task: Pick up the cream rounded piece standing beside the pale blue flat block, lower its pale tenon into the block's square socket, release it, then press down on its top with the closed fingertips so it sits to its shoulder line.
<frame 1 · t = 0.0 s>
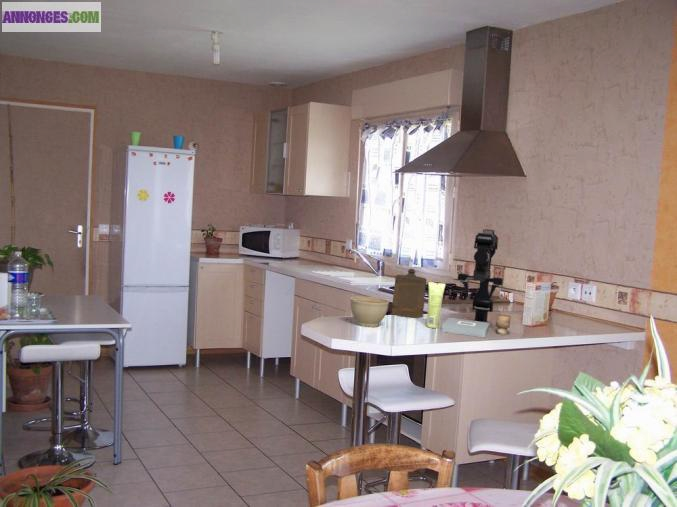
hand: (478, 299, 302), 15 cm above the countertop, fingers open, 9 cm apart
tube: (432, 327, 307), on the countertop
cracker box: (534, 325, 341), on the countertop
cream rounded piece: (501, 333, 307), on the countertop
pale blue flat block: (466, 330, 307), on the countertop
planter bowl: (367, 325, 298), on the countertop
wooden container: (407, 315, 336), on the countertop
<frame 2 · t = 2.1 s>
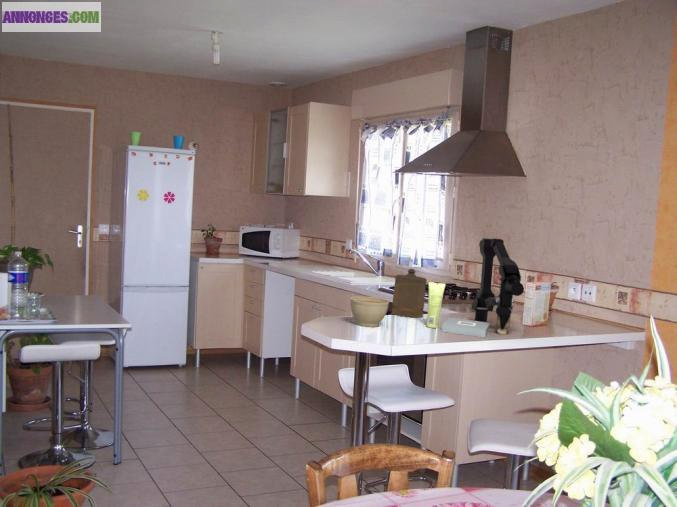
hand: (502, 328, 307), 3 cm above the countertop, fingers closed on cream rounded piece, 6 cm apart
cream rounded piece: (501, 333, 307), on the countertop, touching gripper
everything else where it was.
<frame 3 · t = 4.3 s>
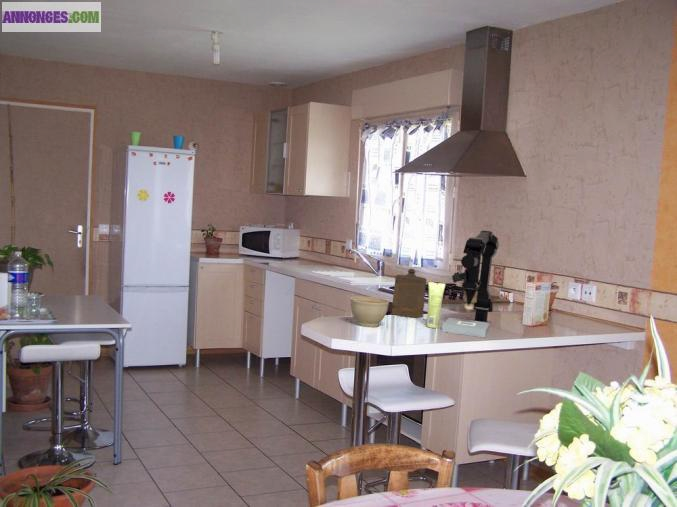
hand: (469, 303, 307), 12 cm above the countertop, fingers closed on cream rounded piece, 6 cm apart
cream rounded piece: (468, 309, 307), point 9 cm above the countertop, touching gripper
everything else where it was.
when the fingers open (4 cm above the countertop, at t = 6.5 s): cream rounded piece drops 1 cm, resting in pale blue flat block.
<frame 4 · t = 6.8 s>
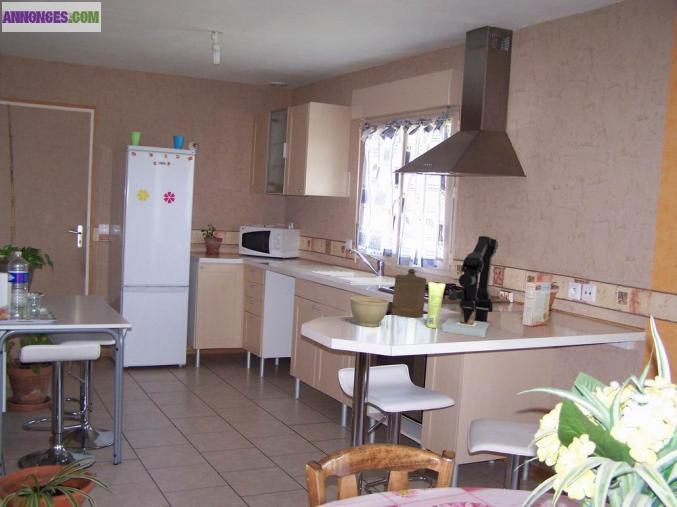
hand: (467, 321, 307), 4 cm above the countertop, fingers open, 8 cm apart
cream rounded piece: (466, 330, 307), resting in pale blue flat block
everything else where it was.
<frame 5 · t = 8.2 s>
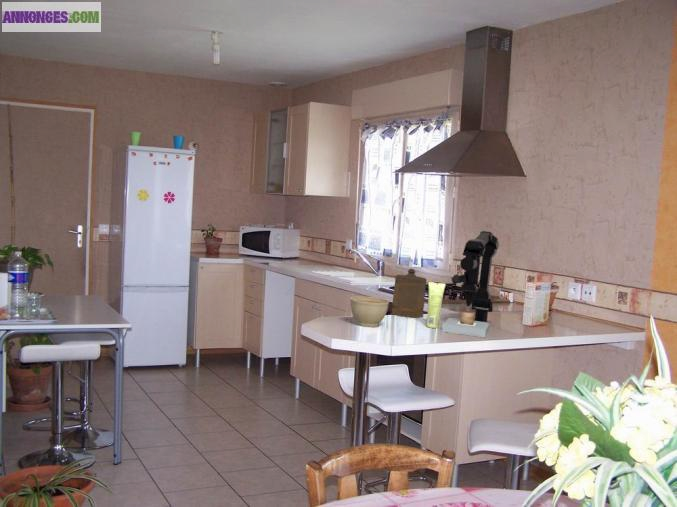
hand: (468, 305, 307), 11 cm above the countertop, fingers open, 5 cm apart
nothing on the countertop moved.
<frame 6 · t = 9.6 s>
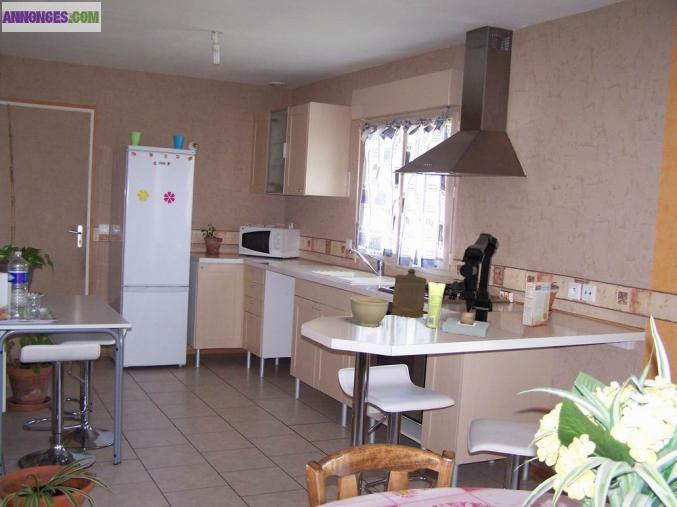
hand: (468, 311, 307), 8 cm above the countertop, fingers closed
nothing on the countertop moved.
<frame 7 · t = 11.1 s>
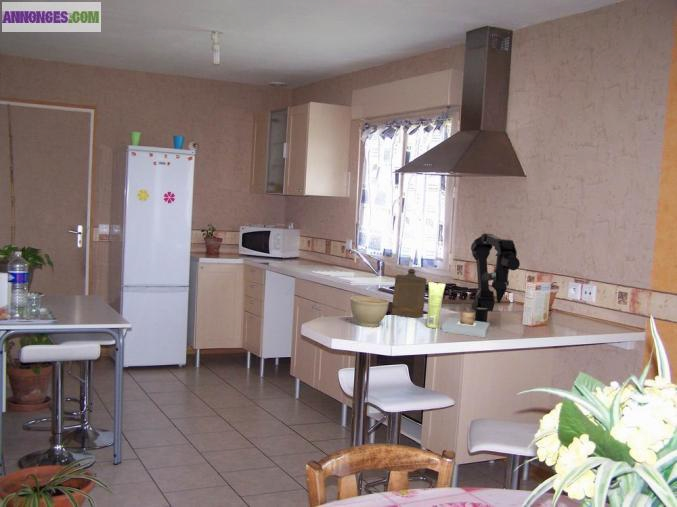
hand: (498, 302, 314), 12 cm above the countertop, fingers closed
nothing on the countertop moved.
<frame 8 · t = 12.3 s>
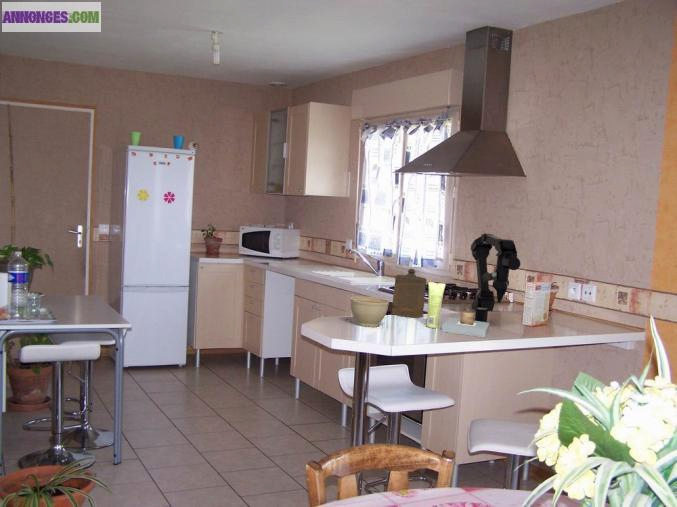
hand: (498, 302, 314), 13 cm above the countertop, fingers closed
nothing on the countertop moved.
at the end: cream rounded piece 0.1 cm off-centre on the pale blue flat block, point 0.0 cm above the pale blue flat block's base; cream rounded piece tilted 0°; the gripper is holding nothing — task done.
